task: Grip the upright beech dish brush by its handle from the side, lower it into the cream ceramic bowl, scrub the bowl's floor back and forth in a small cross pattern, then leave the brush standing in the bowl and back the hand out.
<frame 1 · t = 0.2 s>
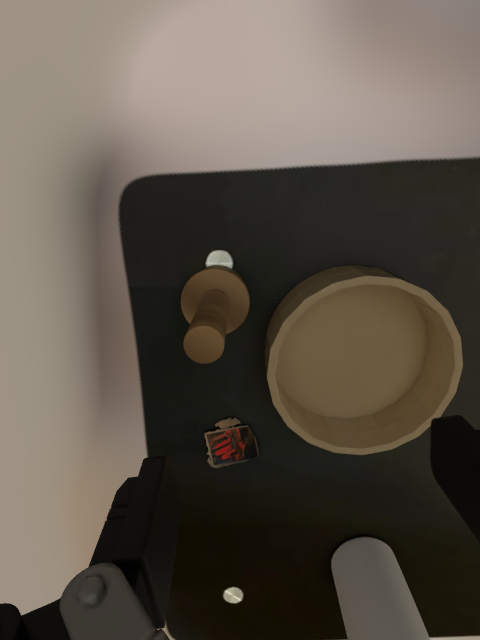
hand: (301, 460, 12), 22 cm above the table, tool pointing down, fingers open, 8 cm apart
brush: (217, 293, 33), on the table
bowl: (347, 347, 34), on the table
small printed card: (230, 440, 37), on the table
can: (361, 557, 41), on the table
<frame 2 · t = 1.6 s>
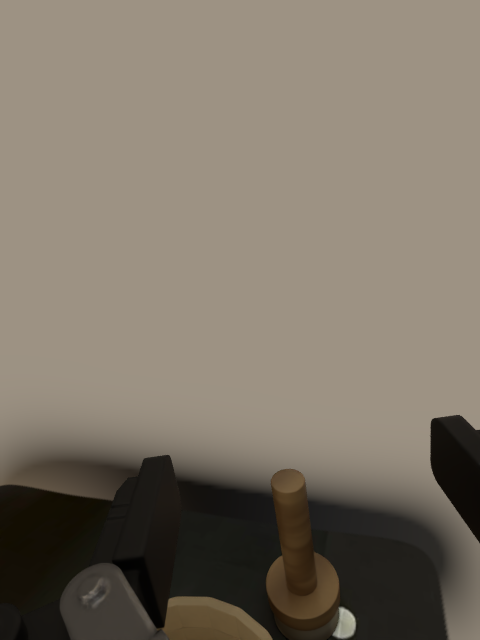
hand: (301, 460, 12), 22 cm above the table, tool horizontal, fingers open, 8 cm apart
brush: (305, 610, 30), on the table
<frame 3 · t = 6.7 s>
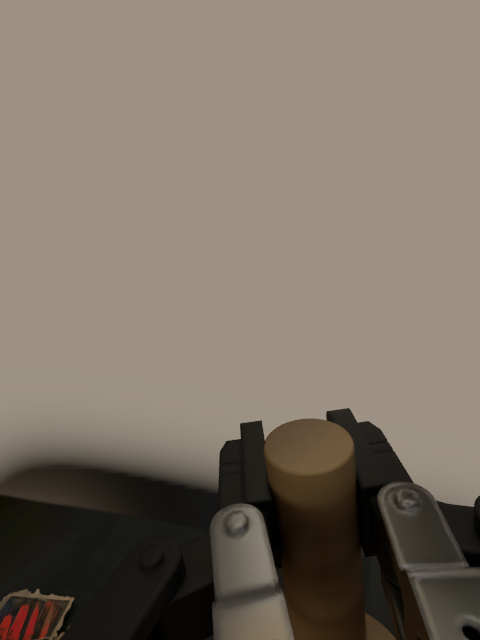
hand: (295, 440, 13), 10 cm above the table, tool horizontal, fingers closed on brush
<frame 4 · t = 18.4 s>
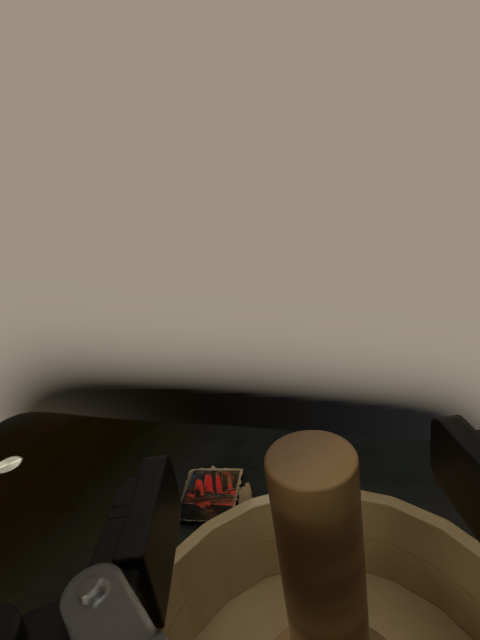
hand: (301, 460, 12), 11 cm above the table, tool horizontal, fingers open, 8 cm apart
small printed card: (216, 497, 26), on the table
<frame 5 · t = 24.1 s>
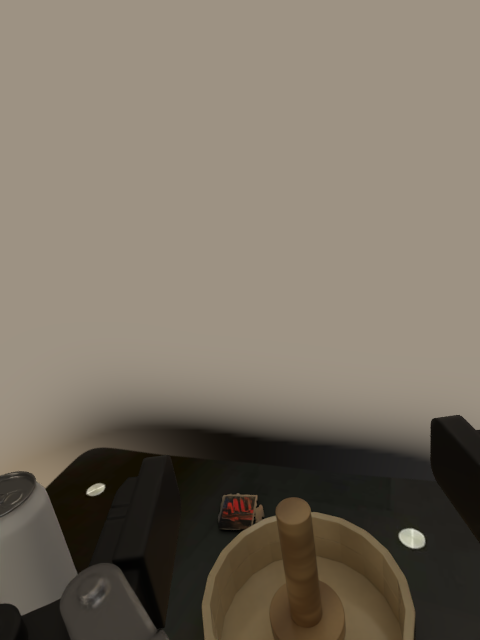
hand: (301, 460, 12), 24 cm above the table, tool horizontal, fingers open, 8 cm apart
small printed card: (241, 514, 42), on the table
can: (43, 605, 35), on the table
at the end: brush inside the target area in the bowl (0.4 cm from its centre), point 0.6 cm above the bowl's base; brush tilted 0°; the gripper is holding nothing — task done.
